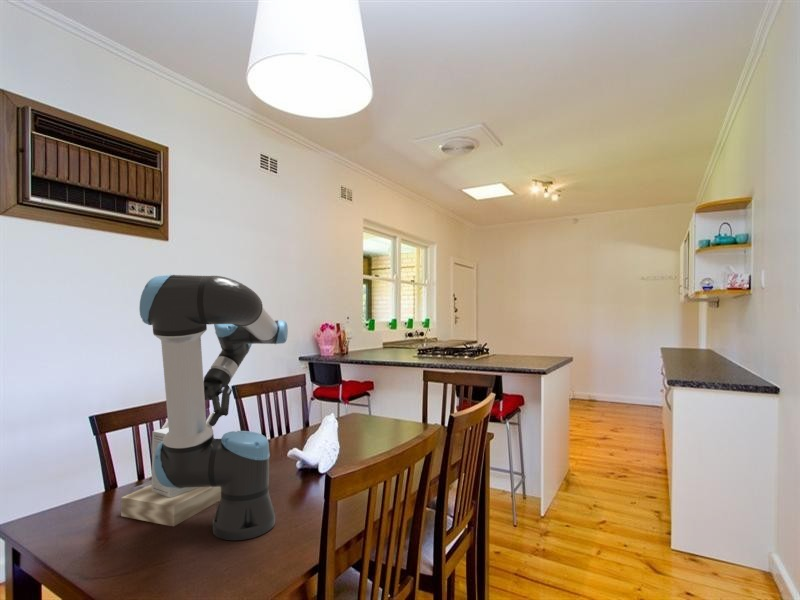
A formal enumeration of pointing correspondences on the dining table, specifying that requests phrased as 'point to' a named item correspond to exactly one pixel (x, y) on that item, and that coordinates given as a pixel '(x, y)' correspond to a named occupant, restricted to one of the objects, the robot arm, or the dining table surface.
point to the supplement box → (156, 486)
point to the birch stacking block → (168, 505)
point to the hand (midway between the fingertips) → (183, 432)
